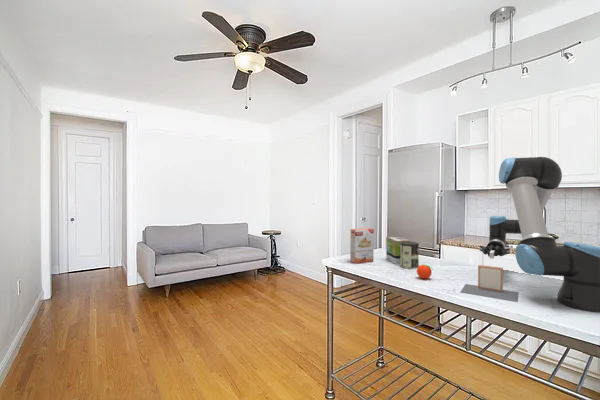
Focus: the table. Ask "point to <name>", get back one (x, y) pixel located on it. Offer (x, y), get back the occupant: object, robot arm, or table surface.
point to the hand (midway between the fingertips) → (491, 255)
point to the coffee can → (409, 255)
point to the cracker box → (362, 245)
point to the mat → (490, 293)
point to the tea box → (394, 248)
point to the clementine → (424, 271)
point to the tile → (490, 278)
